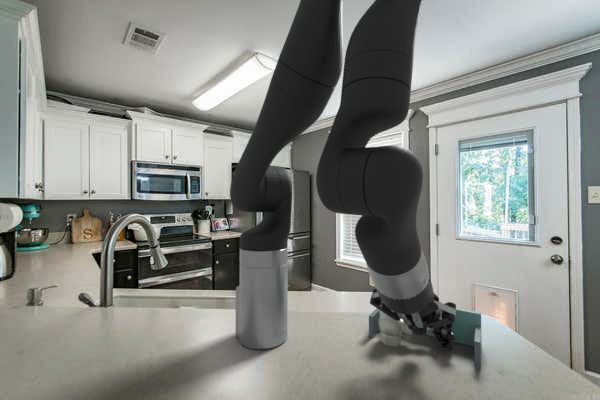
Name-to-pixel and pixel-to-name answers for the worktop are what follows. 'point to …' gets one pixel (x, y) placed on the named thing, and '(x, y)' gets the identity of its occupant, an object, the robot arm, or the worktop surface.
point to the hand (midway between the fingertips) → (418, 329)
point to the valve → (409, 332)
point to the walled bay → (463, 330)
